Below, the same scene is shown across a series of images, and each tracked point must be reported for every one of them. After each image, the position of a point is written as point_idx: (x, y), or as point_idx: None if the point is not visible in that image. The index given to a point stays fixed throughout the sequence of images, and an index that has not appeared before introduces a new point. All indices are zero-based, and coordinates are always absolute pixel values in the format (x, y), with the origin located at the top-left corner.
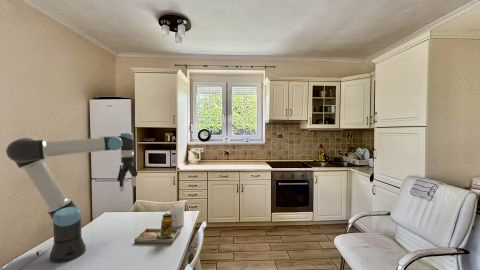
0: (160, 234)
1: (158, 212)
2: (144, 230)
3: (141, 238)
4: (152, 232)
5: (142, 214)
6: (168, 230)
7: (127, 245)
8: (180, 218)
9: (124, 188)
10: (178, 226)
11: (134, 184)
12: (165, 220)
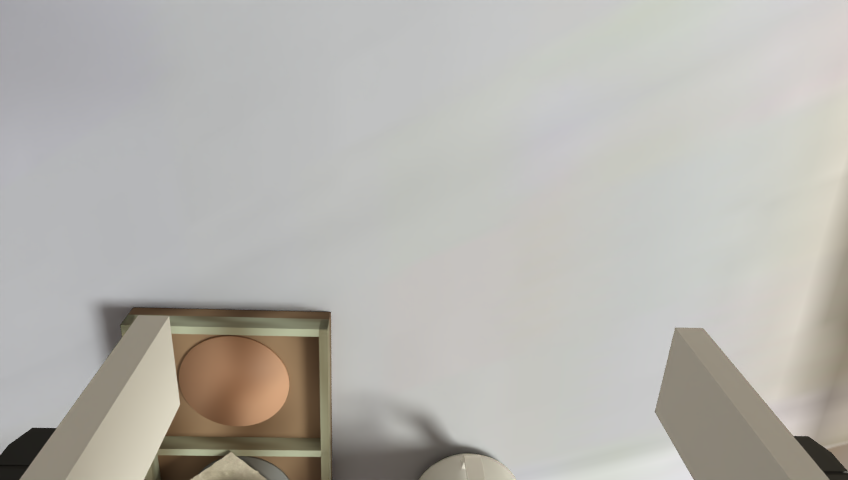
0: (221, 474)
1: (811, 244)
2: (287, 334)
3: (186, 342)
4: (299, 379)
5: (791, 91)
6: None
7: (91, 270)
8: None
9: (152, 450)
10: None
11: (674, 424)
12: None
